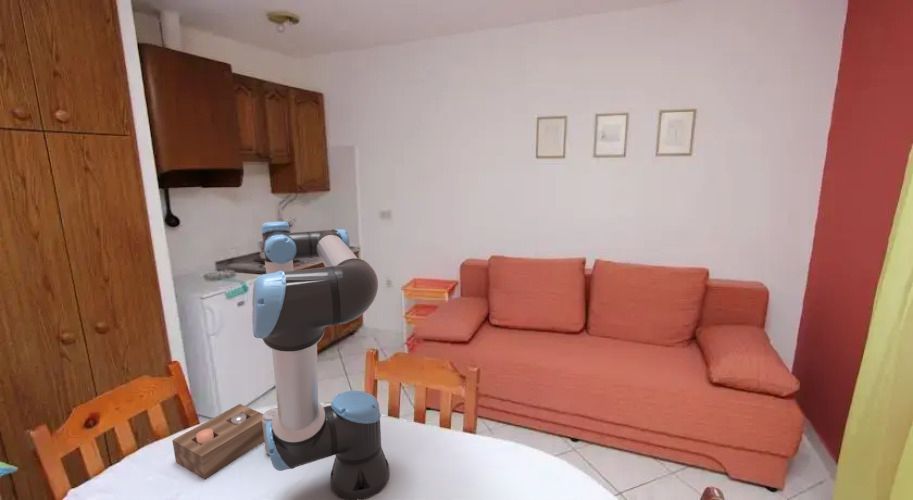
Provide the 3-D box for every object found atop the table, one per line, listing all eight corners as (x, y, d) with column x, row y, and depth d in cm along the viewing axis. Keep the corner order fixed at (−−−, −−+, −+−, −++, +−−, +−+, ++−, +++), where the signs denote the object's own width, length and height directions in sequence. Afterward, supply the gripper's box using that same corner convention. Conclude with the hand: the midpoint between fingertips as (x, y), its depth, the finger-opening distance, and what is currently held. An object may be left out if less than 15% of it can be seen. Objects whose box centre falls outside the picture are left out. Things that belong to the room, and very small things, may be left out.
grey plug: (251, 432, 124) (248, 415, 123) (238, 440, 121) (236, 422, 120) (242, 429, 126) (240, 411, 125) (230, 436, 123) (228, 418, 122)
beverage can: (280, 458, 115) (276, 420, 113) (260, 455, 117) (256, 418, 114) (293, 444, 121) (290, 407, 119) (274, 441, 123) (270, 405, 120)
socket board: (270, 436, 125) (268, 416, 124) (204, 479, 108) (201, 456, 106) (242, 423, 132) (239, 403, 130) (175, 462, 114) (172, 439, 113)
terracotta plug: (218, 450, 116) (215, 431, 115) (204, 458, 112) (201, 439, 111) (210, 445, 118) (207, 427, 116) (195, 454, 114) (193, 435, 113)
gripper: (289, 267, 129) (296, 337, 134) (252, 277, 118) (260, 353, 122) (306, 270, 125) (312, 341, 130) (269, 280, 114) (277, 358, 119)
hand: (287, 347), depth 126 cm, fingers closed
